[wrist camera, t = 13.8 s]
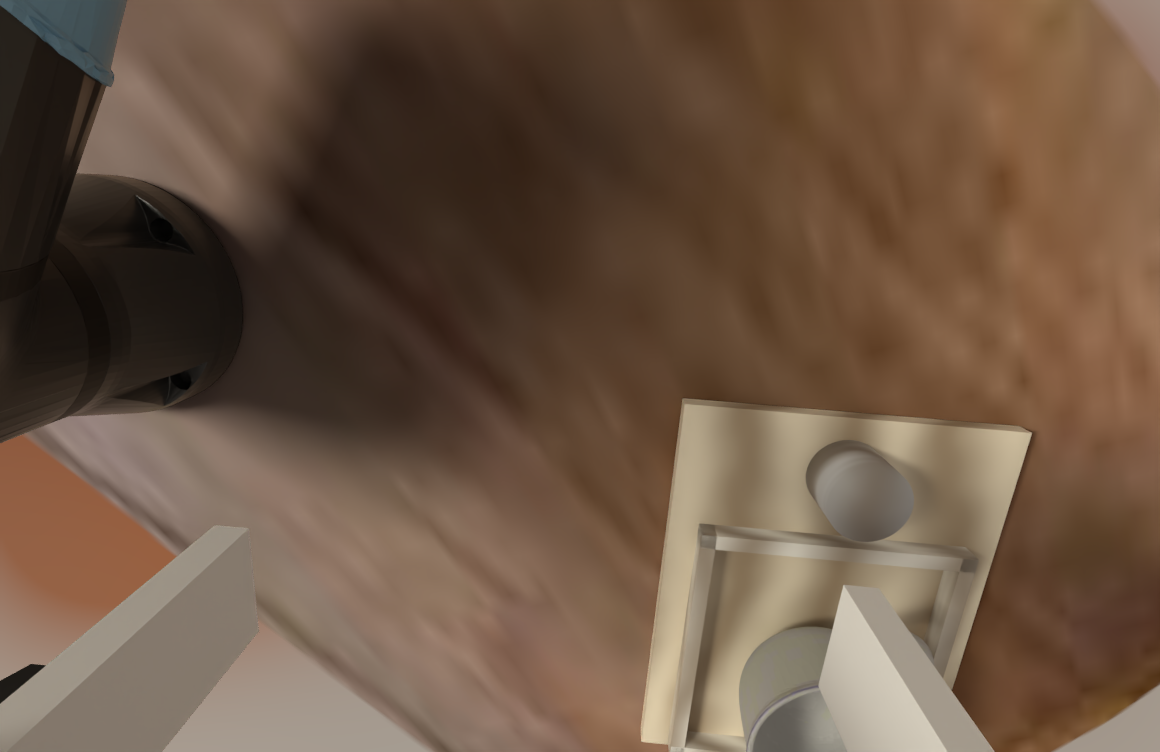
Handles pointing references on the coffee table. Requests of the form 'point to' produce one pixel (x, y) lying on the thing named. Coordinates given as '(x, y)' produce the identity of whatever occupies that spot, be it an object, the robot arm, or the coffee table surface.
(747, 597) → the carrier board
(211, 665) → the robot arm
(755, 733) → the teacup
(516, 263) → the coffee table surface
